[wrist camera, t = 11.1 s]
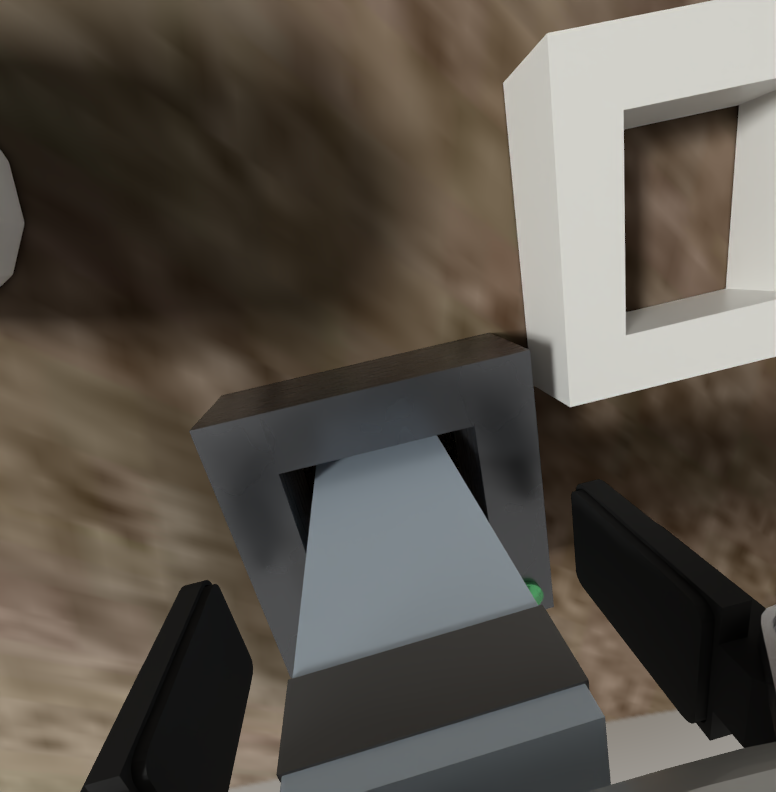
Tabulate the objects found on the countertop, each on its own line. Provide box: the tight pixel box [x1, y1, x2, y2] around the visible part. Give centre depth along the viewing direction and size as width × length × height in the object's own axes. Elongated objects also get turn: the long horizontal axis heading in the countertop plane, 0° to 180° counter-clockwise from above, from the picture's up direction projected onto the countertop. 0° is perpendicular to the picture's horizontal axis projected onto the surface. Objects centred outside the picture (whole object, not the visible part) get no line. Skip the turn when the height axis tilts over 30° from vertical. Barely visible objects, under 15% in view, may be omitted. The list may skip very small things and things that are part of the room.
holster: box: [503, 0, 776, 407], centre depth 12 cm, size 9×9×2 cm
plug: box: [277, 435, 611, 792], centre depth 10 cm, size 4×4×10 cm
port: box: [189, 333, 554, 678], centre depth 13 cm, size 9×9×3 cm
